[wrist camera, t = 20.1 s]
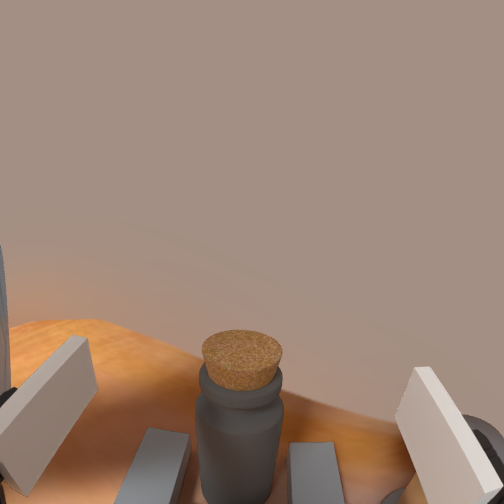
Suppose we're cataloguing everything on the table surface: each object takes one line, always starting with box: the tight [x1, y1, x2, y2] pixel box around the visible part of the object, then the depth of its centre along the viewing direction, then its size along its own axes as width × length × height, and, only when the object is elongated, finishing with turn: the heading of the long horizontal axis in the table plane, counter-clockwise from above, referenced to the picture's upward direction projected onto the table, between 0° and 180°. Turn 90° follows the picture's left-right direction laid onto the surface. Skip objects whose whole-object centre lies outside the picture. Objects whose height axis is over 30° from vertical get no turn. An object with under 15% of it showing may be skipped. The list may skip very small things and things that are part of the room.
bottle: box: [195, 330, 284, 504], centre depth 20 cm, size 6×6×15 cm
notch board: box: [114, 427, 345, 504], centre depth 20 cm, size 17×10×2 cm, turn 87°
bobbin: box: [382, 414, 504, 504], centre depth 15 cm, size 7×7×10 cm
